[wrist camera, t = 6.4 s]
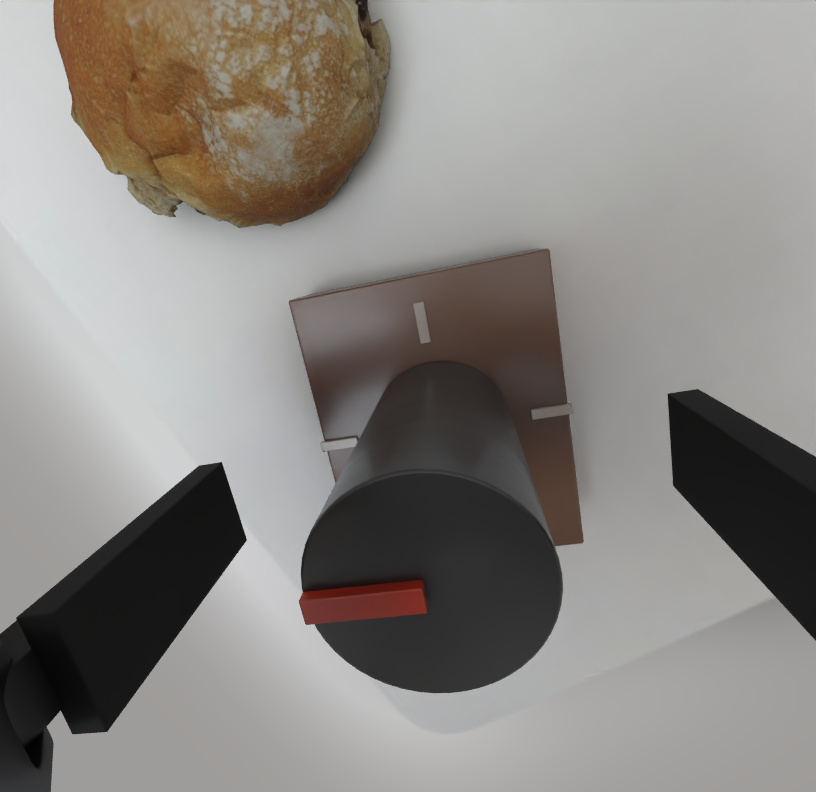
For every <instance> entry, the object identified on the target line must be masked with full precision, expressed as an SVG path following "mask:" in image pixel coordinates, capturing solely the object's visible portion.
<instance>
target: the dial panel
mask: <svg viewBox="0 0 816 792" xmlns="http://www.w3.org/2000/svg"><path fill="white" fill-rule="evenodd" d="M289 305H290V309H291V313H292V316H293V320H294V324H295V328H296V332H297V336H298V340H299V343H300V347H301V351H302V355H303V359H304V363H305V367H306V370H307V374H308V378H309V382H310V386H311V390H312V394H313V397H314V401H315V405H316V409H317V413H318V417H319V421H320V425H321V428H322V432H323V436H324V440H325V441H323V442H321V446H322V450H323V452H324V451H327V452H328V455H329V459H330V463H331V467H332V471H333V475H334V479H335V482H337V480H338V478H339V476H340V474H341V473H342V471H343V469H344V467H345V465H346V463H347V461H348V459H349V457H350V455H351V453H352V452H353V450H354V448H355V446H356V444H357V442H358V440H359V438H360V436H361V434H362V432H363V431H364V429H365V427H366V425H367V423H368V421H369V419H370V417H371V415H372V413H373V411H374V410H375V408H376V406H377V404H378V402H379V400H380V398H381V396H382V395H383V393H384V391H385V390H386V388H387V387H388V386H389V385H390V383H391V382H393V381H394V380H395V379H396V378H397V377H398V376H399V375H401V374H402V373H404V372H405V371H407V370H409V369H411V368H413V367H415V366H418V365H421V364H425V363H429V362H437V361H449V362H455V363H460V364H463V365H467V366H469V367H472V368H474V369H476V370H478V371H479V372H481V373H483V374H484V375H485V376H487V377H488V378H489V379H490V380H491V381H492V382H493V383H494V384H495V385H496V386H497V387H498V388H499V390H500V391H501V392H502V394H503V396H504V397H505V399H506V401H507V404H508V406H509V409H510V412H511V415H512V418H513V421H514V424H515V427H516V430H517V433H518V436H519V439H520V442H521V445H522V449H523V452H524V455H525V458H526V461H527V464H528V467H529V470H530V473H531V476H532V479H533V482H534V485H535V488H536V491H537V494H538V497H539V500H540V503H541V506H542V509H543V512H544V515H545V518H546V521H547V525H548V528H549V531H550V534H551V537H552V540H553V543H554V546H560V545H569V544H578V543H583V541H584V540H583V532H582V523H581V515H580V506H579V498H578V489H577V481H576V472H575V464H574V455H573V447H572V438H571V430H570V421H569V414H573V412H572V404H571V403H567V396H566V387H565V379H564V370H563V362H562V353H561V345H560V336H559V328H558V319H557V310H556V302H555V293H554V285H553V276H552V268H551V259H550V251H549V249H533V250H528V251H523V252H518V253H513V254H508V255H503V256H499V257H494V258H489V259H484V260H479V261H474V262H469V263H464V264H459V265H454V266H449V267H444V268H439V269H434V270H429V271H424V272H419V273H414V274H409V275H404V276H399V277H395V278H390V279H385V280H380V281H375V282H370V283H365V284H360V285H355V286H350V287H345V288H340V289H335V290H330V291H325V292H320V293H315V294H310V295H307V296H303V297H300V298H297V299H293V300H290V301H289Z"/></svg>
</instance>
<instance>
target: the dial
mask: <svg viewBox="0 0 816 792" xmlns="http://www.w3.org/2000/svg"><path fill="white" fill-rule="evenodd" d="M301 581H302V590H303V593H302V596H301V598H300V600H299V604H300V607H301V610H302V614H303V617H304V621H305V624H306V625H309V624H315V626H316V628H317V630H318V631H319V632H320V634H321V635H322V637H323V638H324V639H325V641H326V642H327V643H328V644H329V645H330V646H331V647H332V648H333V650H334V651H335V652H336V653H337V654H339V655H340V656H341V657H342V658H343V659H344V660H345V661H347V662H348V663H349V664H351V665H352V666H354V667H355V668H356V669H358V670H359V671H361V672H363V673H365V674H367V675H368V676H370V677H372V678H374V679H377V680H379V681H381V682H384V683H386V684H389V685H392V686H396V687H399V688H402V689H407V690H412V691H417V692H428V693H453V692H461V691H467V690H472V689H476V688H480V687H483V686H486V685H489V684H492V683H494V682H497V681H499V680H501V679H503V678H505V677H507V676H509V675H510V674H512V673H513V672H515V671H516V670H518V669H519V668H521V667H522V666H524V665H525V664H526V663H527V662H528V661H529V660H530V659H532V658H533V657H534V656H535V654H536V653H537V652H538V651H539V650H540V649H541V648H542V646H543V645H544V643H545V642H546V640H547V639H548V637H549V636H550V634H551V632H552V630H553V628H554V625H555V623H556V621H557V618H558V614H559V611H560V607H561V602H562V593H563V582H562V572H561V567H560V562H559V558H558V555H557V552H556V549H555V546H554V543H553V540H552V537H551V534H550V531H549V528H548V525H547V521H546V518H545V515H544V512H543V509H542V506H541V503H540V500H539V497H538V494H537V491H536V488H535V485H534V482H533V479H532V476H531V473H530V470H529V467H528V464H527V461H526V458H525V455H524V452H523V449H522V445H521V442H520V439H519V436H518V433H517V430H516V427H515V424H514V421H513V418H512V415H511V412H510V409H509V406H508V404H507V401H506V399H505V397H504V396H503V394H502V392H501V391H500V390H499V388H498V387H497V386H496V385H495V384H494V383H493V382H492V381H491V380H490V379H489V378H488V377H487V376H485V375H484V374H483V373H481V372H479V371H478V370H476V369H474V368H472V367H469V366H467V365H463V364H460V363H455V362H449V361H437V362H429V363H425V364H421V365H418V366H415V367H413V368H411V369H409V370H407V371H405V372H404V373H402V374H401V375H399V376H398V377H397V378H396V379H395V380H394V381H393V382H391V383H390V385H389V386H388V387H387V388H386V390H385V391H384V393H383V395H382V396H381V398H380V400H379V402H378V404H377V406H376V408H375V410H374V411H373V413H372V415H371V417H370V419H369V421H368V423H367V425H366V427H365V429H364V431H363V432H362V434H361V436H360V438H359V440H358V442H357V444H356V446H355V448H354V450H353V452H352V453H351V455H350V457H349V459H348V461H347V463H346V465H345V467H344V469H343V471H342V473H341V474H340V476H339V478H338V480H337V482H336V484H335V486H334V488H333V490H332V492H331V494H330V495H329V497H328V499H327V501H326V503H325V505H324V507H323V509H322V511H321V513H320V515H319V517H318V518H317V520H316V522H315V524H314V526H313V528H312V530H311V532H310V535H309V537H308V539H307V542H306V544H305V548H304V553H303V557H302V566H301Z"/></svg>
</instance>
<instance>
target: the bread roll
mask: <svg viewBox="0 0 816 792" xmlns="http://www.w3.org/2000/svg"><path fill="white" fill-rule="evenodd" d="M54 29H55V38H56V42H57V45H58V48H59V51H60V54H61V57H62V61H63V64H64V67H65V71H66V75H67V78H68V82H69V89H70V92H71V95H72V101H73V102H72V110H71V115H72V117H73V120H74V121H75V122H76V123H77V124H78V125H79V126H80V127H81V129H82V130H83V132H84V133H85V135H86V136H87V138H88V139H89V140H90V142H91V143H92V145H93V146H94V148H95V149H96V150H97V152H98V153H99V154H100V156H101V158H102V160H103V162H104V164H105V166H106V168H107V170H109V171H110V172H111V173H114V174H120V175H125V176H127V178H128V190H129V192H130V193H131V194H132V195H133V196H134V197H135V199H136V200H137V201H138V202H139V203H141V204H143V205H145V206H146V207H148V208H149V209H150V210H152V212H153V213H155V214H158V215H165V216H169V217H176V216H175V215H174V214H173V213H174V212H175V211H176V210H177V209H178V208H177V207H176V205H178V204H180V203H182V202H183V201H184V202H185V203H187V204H188V205H190V206H191V207H193V208H194V209H195V210H196V211H197V212H199V213H201V214H203V215H206V214H207V215H208V216H210V217H212V218H214V219H216V220H218V221H221V220H224V221H228V222H230V223H231V224H233V225H235V226H237V227H239V228H242V227H248V226H253V225H254V226H257V225H262V224H274V225H278V226H281V225H282V224H284V223H287V222H291V221H294V220H297V219H300V218H302V217H304V216H307V215H309V214H312V213H313V212H315V211H316V210H318V209H321V208H323V207H324V206H325V205H326V204H327V202H328V201H329V200H330V199H331V198H332V196H333V195H335V194H336V192H337V191H338V190H339V188H340V187H341V185H342V184H343V183H345V182H346V181H347V179H348V175H349V174H350V172H351V170H352V169H353V167H354V165H355V164H356V162H357V161H358V160H359V159H360V158H361V156H362V155H363V153H364V152H365V150H366V149H367V147H368V146H369V144H370V142H371V140H372V138H373V136H374V134H375V131H376V129H377V127H378V123H379V113H380V107H381V102H382V98H383V95H384V91H385V87H386V82H385V80H384V78H385V77H386V76H387V75H388V72H389V68H390V65H389V56H390V43H389V37H388V34H387V31H386V29H385V26H384V24H383V21H382V19H380V20H378V21H376V22H374V23H372V24H371V20H370V16H369V12H368V6H367V0H54Z"/></svg>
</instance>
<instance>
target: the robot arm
mask: <svg viewBox="0 0 816 792" xmlns="http://www.w3.org/2000/svg"><path fill="white" fill-rule="evenodd" d="M668 407H669V423H670V440H671V456H672V473H673V486H674V487H675V488H676V489H677V490H678V491H679V492H680V493H681V495H682V496H683V497H684V498H685V499H686V500H687V501H688V502H689V503H690V504H691V505H692V507H693V508H694V509H695V510H696V511H697V512H698V513H699V514H700V515H701V516H702V517H703V518H704V520H705V521H706V522H707V523H708V524H709V525H710V526H711V527H712V528H713V529H714V530H715V532H716V533H717V534H718V535H719V536H720V537H721V538H722V539H723V540H724V541H725V542H726V543H727V545H728V546H729V547H730V548H731V549H732V550H733V551H734V552H735V553H736V554H737V555H738V557H739V558H740V559H741V560H742V561H743V562H744V563H745V564H746V565H747V566H748V567H749V568H750V570H751V571H752V572H753V573H754V574H755V575H756V576H757V577H758V578H759V579H760V580H761V582H762V583H763V584H764V585H765V586H766V587H767V588H768V589H769V590H770V591H771V592H772V593H773V595H774V596H775V597H776V598H777V599H778V600H779V601H780V602H781V603H782V604H783V605H784V606H785V608H786V609H787V610H788V611H789V612H790V613H791V614H792V615H793V616H794V617H795V618H796V619H797V621H798V622H799V623H800V624H801V625H802V626H803V627H804V628H805V629H806V630H807V632H808V633H810V635H811V636H812V637H813V638H814V639H815V640H816V457H815V456H813V455H811V454H810V453H808V452H806V451H805V450H803V449H801V448H799V447H798V446H796V445H794V444H792V443H791V442H789V441H787V440H785V439H784V438H782V437H780V436H778V435H777V434H775V433H773V432H771V431H770V430H768V429H766V428H765V427H763V426H761V425H759V424H758V423H756V422H754V421H752V420H751V419H749V418H747V417H745V416H744V415H742V414H740V413H738V412H737V411H735V410H733V409H731V408H730V407H728V406H726V405H724V404H723V403H721V402H719V401H718V400H716V399H714V398H712V397H711V396H709V395H707V394H705V393H704V392H702V391H700V390H698V389H696V390H689V391H683V392H676V393H670V394H668ZM246 540H247V539H246V536H245V533H244V530H243V527H242V523H241V520H240V517H239V514H238V511H237V508H236V505H235V502H234V499H233V495H232V492H231V489H230V486H229V483H228V480H227V477H226V474H225V471H224V467H223V464H222V462H220V463H214V464H207V465H201V466H198V467H197V468H196V469H195V470H193V471H192V472H191V473H190V474H189V475H187V476H186V477H185V478H184V479H183V480H182V481H180V482H179V483H178V484H177V485H175V486H174V487H173V488H172V489H171V490H169V491H168V492H167V493H166V494H165V495H163V496H162V497H161V498H160V499H159V500H157V501H156V502H155V503H154V504H153V505H151V506H150V507H149V508H148V509H146V510H145V511H144V512H143V513H142V514H140V515H139V516H138V517H137V518H136V519H135V520H133V521H132V522H131V523H130V524H128V525H127V526H126V527H125V528H124V529H123V530H121V531H120V532H119V533H118V534H117V535H115V536H114V537H113V538H112V539H110V540H109V541H108V542H107V543H106V544H104V545H103V546H102V547H101V548H100V549H98V550H97V551H96V552H95V553H94V554H92V555H91V556H90V557H89V558H88V559H86V560H85V561H84V562H83V563H82V564H80V565H79V566H78V567H77V568H76V569H74V570H73V571H72V572H71V573H69V574H68V575H67V576H66V577H65V578H64V579H62V580H61V581H60V582H59V583H58V584H56V585H55V586H54V587H53V588H51V589H50V590H49V591H48V592H47V593H45V594H44V595H43V596H42V597H41V598H39V599H38V600H37V601H36V602H35V603H34V604H32V605H31V606H30V607H29V608H27V609H26V610H25V611H24V612H23V613H21V614H20V615H19V616H18V617H17V618H16V619H17V621H16V622H14V623H13V624H12V625H11V626H10V627H8V628H7V629H6V630H5V631H4V632H2V633H1V634H0V792H51V776H52V775H51V774H52V758H53V740H52V738H51V735H50V733H49V731H48V729H47V727H46V726H47V725H48V724H49V723H50V722H51V721H52V720H53V718H54V717H55V716H56V715H57V714H58V713H59V711H60V710H61V712H62V714H63V716H64V718H65V719H66V722H67V723H68V726H69V728H70V730H71V732H72V734H81V733H82V734H83V733H97V732H107V731H108V730H109V728H110V727H111V726H112V724H113V723H114V722H115V720H116V719H117V717H118V716H119V715H120V713H121V712H122V711H123V709H124V708H125V707H126V705H127V704H128V702H129V701H130V699H131V698H132V697H133V696H134V694H135V693H136V691H137V690H138V688H139V687H140V686H141V684H142V683H143V682H144V680H145V679H146V678H147V676H148V675H149V674H150V672H151V671H152V669H153V668H154V667H155V665H156V664H157V663H158V661H159V660H160V658H161V657H162V656H163V654H164V653H165V652H166V650H167V649H168V648H169V646H170V645H171V643H172V642H173V641H174V639H175V638H176V637H177V635H178V634H179V632H180V631H181V630H182V628H183V627H184V626H185V624H186V623H187V621H188V620H189V619H190V617H191V616H192V615H193V613H194V612H195V610H196V609H197V608H198V606H199V605H200V604H201V602H202V601H203V599H204V598H205V597H206V595H207V594H208V593H209V591H210V590H211V588H212V587H213V586H214V584H215V583H216V582H217V580H218V579H219V578H220V576H221V575H222V573H223V572H224V571H225V569H226V568H227V567H228V565H229V564H230V562H231V561H232V560H233V558H234V557H235V555H236V554H237V553H238V551H239V550H240V549H241V547H242V546H243V545H244V543H245V542H246Z"/></svg>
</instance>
